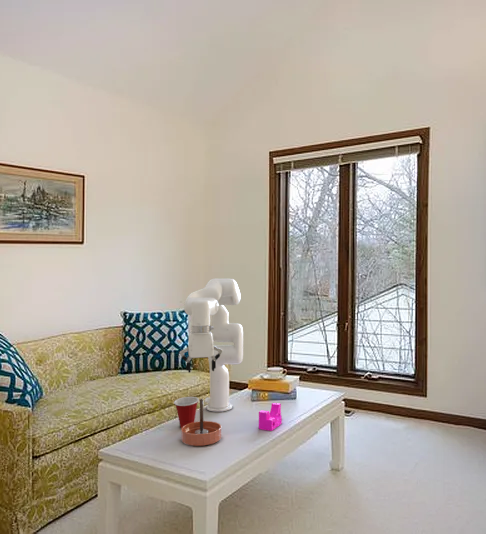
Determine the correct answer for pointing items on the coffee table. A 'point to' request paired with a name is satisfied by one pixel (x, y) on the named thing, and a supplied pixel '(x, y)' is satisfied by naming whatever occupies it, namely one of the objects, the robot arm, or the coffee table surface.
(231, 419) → the coffee table surface
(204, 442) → the bowl
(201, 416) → the meat pounder
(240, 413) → the coffee table surface
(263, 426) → the toy block
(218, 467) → the coffee table surface
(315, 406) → the coffee table surface
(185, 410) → the plastic cup
